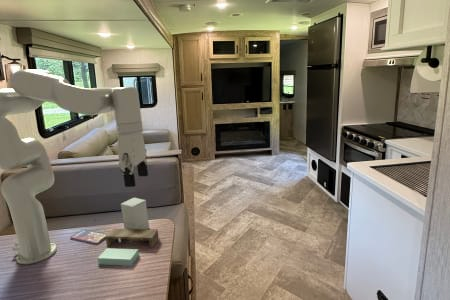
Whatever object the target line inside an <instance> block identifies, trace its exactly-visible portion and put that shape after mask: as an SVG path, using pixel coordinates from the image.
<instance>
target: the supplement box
mask: <svg viewBox="0 0 450 300" xmlns="http://www.w3.org/2000/svg"><path fill="white" fill-rule="evenodd" d="M120 208H121V215H122V220H123V222H122V223H123V229H150V225H149V224H150V222H149V215H148V209H147V200H146V199H142V198H138V197H132V198H130V199H128V200H126V201H123V202H122V203H120Z"/></svg>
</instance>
